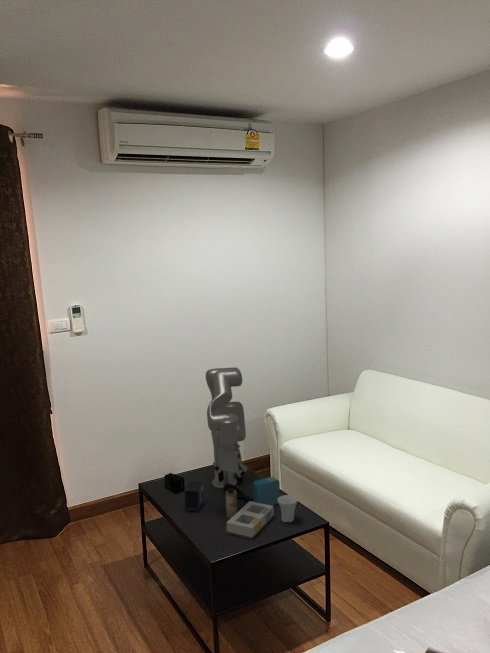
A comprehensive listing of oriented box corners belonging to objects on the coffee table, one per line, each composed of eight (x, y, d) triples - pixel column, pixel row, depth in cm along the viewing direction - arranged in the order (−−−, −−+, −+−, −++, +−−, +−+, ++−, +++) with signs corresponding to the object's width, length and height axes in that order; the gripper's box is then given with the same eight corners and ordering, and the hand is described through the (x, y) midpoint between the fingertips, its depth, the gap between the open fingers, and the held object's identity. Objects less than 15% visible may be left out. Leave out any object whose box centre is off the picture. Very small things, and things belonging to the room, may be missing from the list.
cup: (273, 518, 238) (273, 497, 237) (292, 513, 242) (291, 492, 241) (283, 527, 230) (282, 505, 229) (302, 522, 234) (301, 500, 233)
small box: (198, 512, 246) (197, 491, 245) (184, 511, 248) (183, 490, 246) (204, 502, 257) (203, 481, 255) (191, 501, 258) (190, 480, 256)
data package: (275, 499, 256) (274, 475, 255) (280, 503, 253) (279, 479, 251) (253, 505, 251) (252, 481, 249) (257, 509, 247) (257, 485, 245)
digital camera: (163, 489, 273) (162, 476, 272) (171, 485, 277) (170, 472, 276) (176, 494, 266) (175, 481, 265) (184, 490, 270) (184, 477, 269)
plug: (229, 511, 246) (228, 486, 244) (239, 513, 244) (238, 488, 242) (224, 516, 242) (223, 490, 240) (234, 518, 239) (232, 492, 238)
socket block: (250, 511, 246) (249, 500, 245) (274, 516, 240) (273, 505, 239) (226, 533, 227) (226, 521, 226) (252, 539, 221) (252, 527, 220)
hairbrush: (249, 504, 247) (219, 484, 267) (249, 512, 248) (219, 491, 267) (263, 499, 252) (233, 480, 272) (263, 506, 252) (233, 486, 272)
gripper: (250, 445, 237) (251, 482, 239) (216, 441, 246) (218, 477, 247) (242, 451, 231) (243, 489, 233) (208, 446, 239) (209, 483, 241)
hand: (230, 482), depth 240 cm, fingers open, 9 cm apart
